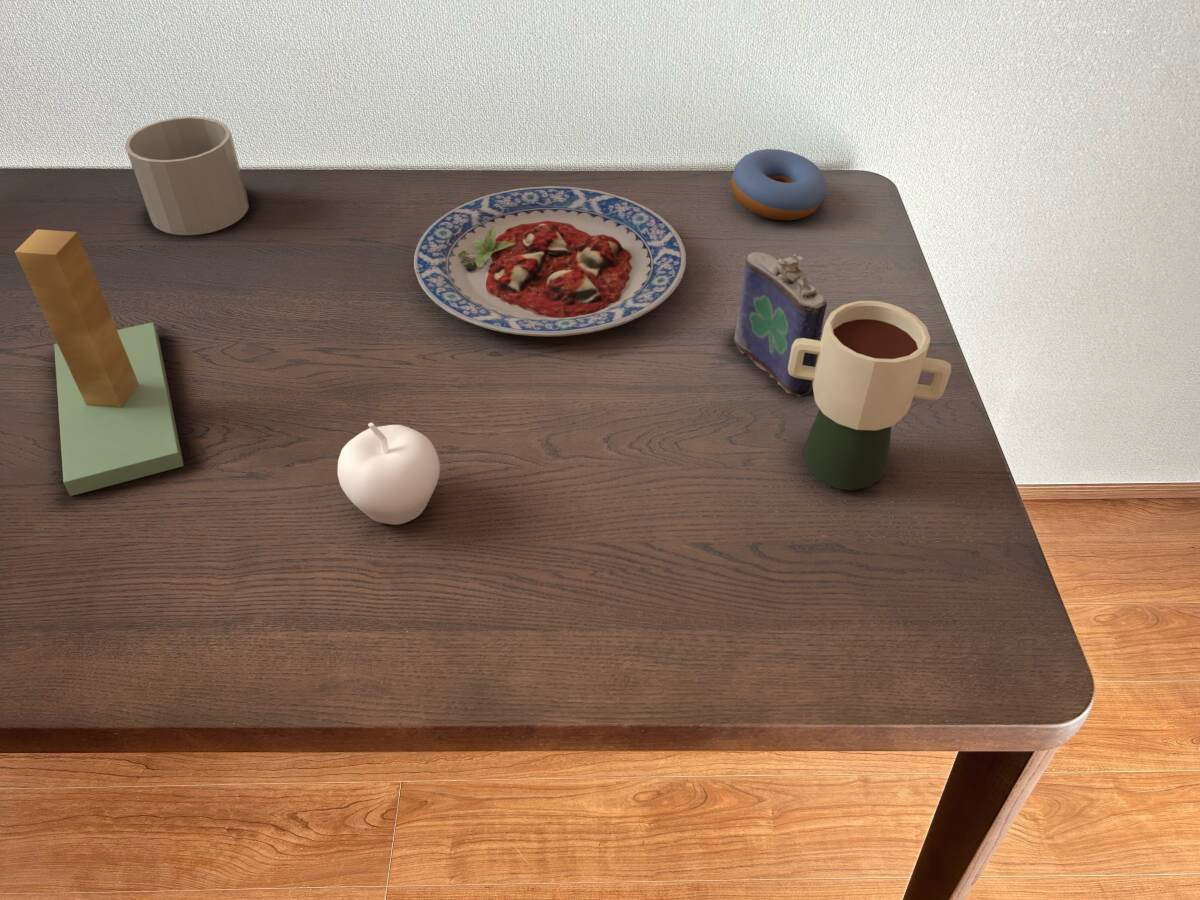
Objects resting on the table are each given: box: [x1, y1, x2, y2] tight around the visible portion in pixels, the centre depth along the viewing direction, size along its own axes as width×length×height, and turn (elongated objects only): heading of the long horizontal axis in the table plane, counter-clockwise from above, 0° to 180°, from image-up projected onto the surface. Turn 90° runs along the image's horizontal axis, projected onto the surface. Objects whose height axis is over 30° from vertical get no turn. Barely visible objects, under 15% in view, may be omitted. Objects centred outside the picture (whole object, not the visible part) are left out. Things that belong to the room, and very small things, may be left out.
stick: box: [14, 228, 139, 408], centre depth 73 cm, size 3×3×14 cm
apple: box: [337, 422, 441, 526], centre depth 68 cm, size 7×7×8 cm
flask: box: [734, 251, 828, 398], centre depth 80 cm, size 9×3×11 cm, turn 31°
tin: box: [124, 116, 250, 236], centre depth 98 cm, size 10×10×8 cm
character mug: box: [788, 300, 952, 491], centre depth 70 cm, size 11×7×13 cm, turn 76°
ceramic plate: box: [413, 185, 687, 337], centre depth 93 cm, size 26×26×3 cm
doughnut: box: [730, 148, 827, 221], centre depth 102 cm, size 10×10×5 cm
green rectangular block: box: [53, 321, 184, 497], centre depth 78 cm, size 18×8×2 cm, turn 24°
